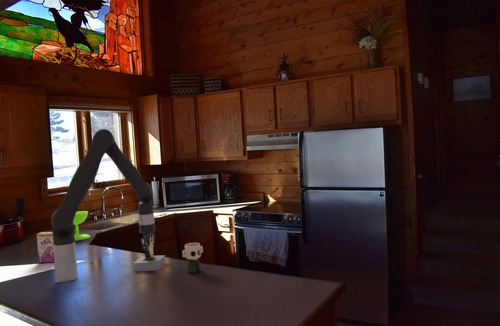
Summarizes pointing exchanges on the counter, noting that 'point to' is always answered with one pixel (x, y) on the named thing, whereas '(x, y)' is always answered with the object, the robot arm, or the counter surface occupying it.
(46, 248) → the candy bar box
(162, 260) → the block
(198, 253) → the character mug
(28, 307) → the counter surface
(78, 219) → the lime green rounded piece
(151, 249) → the brass cylinder
